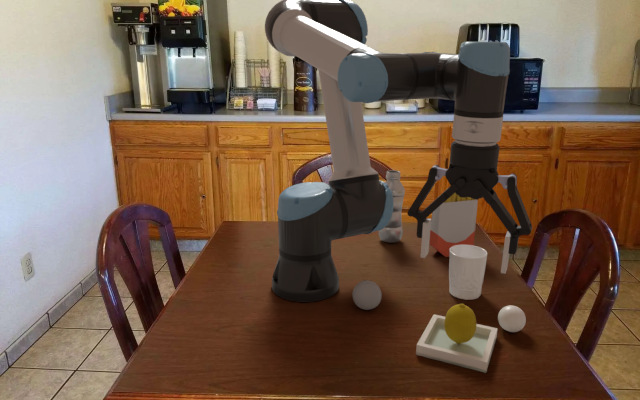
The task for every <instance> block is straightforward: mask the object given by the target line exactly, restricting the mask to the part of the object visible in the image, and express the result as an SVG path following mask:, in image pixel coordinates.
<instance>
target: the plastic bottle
mask: <svg viewBox="0 0 640 400" xmlns="http://www.w3.org/2000/svg"><path fill="white" fill-rule="evenodd" d="M385 179H386V181H384V182H385V183H386V184H387V185H388V186H389V188H388V189H390V190H391V192H392V195H393V213H392V217H391V219H390V220H389V222H388V224H387V225H386V226H385V227H384V228H383V229H381V230H378V236H379V237H378V238H379V239H380V240H381V241H382V242H383V243H384V242H385V243H398V242H400V240H401V239H402V238H403V234H404V233H403V231H404V230H403V224H402V223H403V222H402V210H403V204H404V199H405V198H404V197H405V194H406V193H405V192H406V189H405V187H404V185H403V184H402V182H401V181H400V179H401V171H399V170H395V169H394V170H391V169H390V170H387V171H386V175H385Z"/></svg>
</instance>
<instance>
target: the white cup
mask: <svg viewBox="0 0 640 400" xmlns="http://www.w3.org/2000/svg"><path fill="white" fill-rule="evenodd" d="M448 258H449V260H448V261H449V263H448V282H449V284H448V286H449V288H448V289H449V294H450V295H451V296H453V297H454V298H457V299H461V300H465V301H467V300H476V299H479V297H480V296H481V295H482V287H483V283H484V277H485V272H486V266H487V258H488V251H487V249H485V248H482V247H481V246H478V245H477V246H476V245H455V246H452V247H451V248H450V251H449V257H448Z"/></svg>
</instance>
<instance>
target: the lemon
mask: <svg viewBox="0 0 640 400" xmlns="http://www.w3.org/2000/svg"><path fill="white" fill-rule="evenodd" d="M444 317H445V322H444V327H445V332H446V334H447V336H448V337H449V338H450V339H451V340H452V341H454V342H456V343H457V344H461V343H465V342H468V341H469V340H470V339H472V337H473V336H474V334H475V331H476V324H477V318H476V315H475V313H474V310H473V309H472V308H470V307H469V306H467V305H465V304H464V303H459V304H458V303H457V304H454V305H453V306H451V307H450V308H449V309H448V310H447V312H446V314H445V316H444Z"/></svg>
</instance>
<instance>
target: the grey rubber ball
mask: <svg viewBox="0 0 640 400" xmlns="http://www.w3.org/2000/svg"><path fill="white" fill-rule="evenodd" d="M382 295H383V294H382V290H381V288H380V286H379V285H378V284H377V283H376V282H374V281H372V280H368V279H367V280H361V281H359V282H358V283H357V284H356V285H355V286H354V287H353V290H352V295H351V296H352V300H353V302H354V304H355V305H356V306H357V307H358V308H359V309H362V310H364V311H365V310H366V311H368V310H373V309H375V308H376V307H378V306H379V304H380V303H381V301H382Z"/></svg>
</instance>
